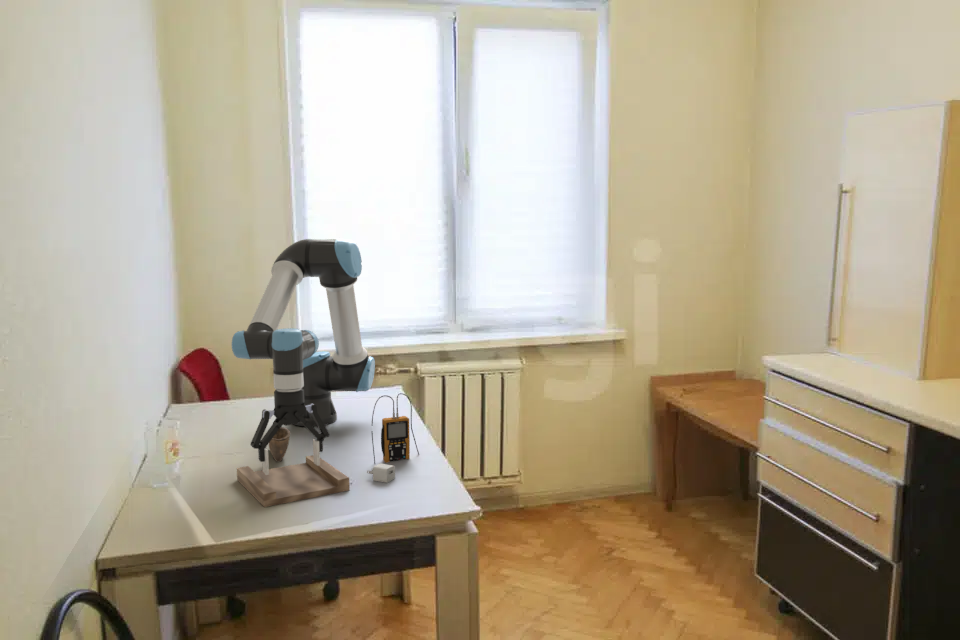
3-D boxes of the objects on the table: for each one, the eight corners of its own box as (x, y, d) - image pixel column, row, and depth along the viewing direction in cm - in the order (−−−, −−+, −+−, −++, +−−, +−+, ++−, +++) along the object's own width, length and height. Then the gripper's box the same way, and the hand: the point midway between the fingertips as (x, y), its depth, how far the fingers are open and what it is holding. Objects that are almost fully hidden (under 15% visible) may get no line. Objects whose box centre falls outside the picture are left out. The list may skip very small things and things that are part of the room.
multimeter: (380, 474, 208) (378, 402, 206) (370, 464, 217) (368, 395, 215) (431, 467, 214) (430, 397, 212) (419, 458, 223) (418, 391, 221)
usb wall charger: (386, 483, 201) (386, 469, 200) (365, 480, 204) (364, 465, 203) (395, 479, 204) (394, 465, 204) (374, 475, 207) (373, 461, 207)
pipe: (286, 449, 233) (285, 417, 232) (292, 464, 217) (291, 430, 216) (264, 451, 231) (263, 419, 229) (269, 467, 215) (267, 432, 214)
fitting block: (316, 466, 216) (315, 454, 215) (349, 490, 196) (349, 477, 195) (237, 480, 204) (236, 468, 204) (264, 507, 184) (263, 493, 183)
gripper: (329, 381, 207) (331, 457, 209) (236, 392, 193) (239, 473, 196) (340, 385, 200) (342, 464, 203) (244, 397, 187) (247, 481, 190)
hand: (291, 468), depth 199 cm, fingers open, 13 cm apart
